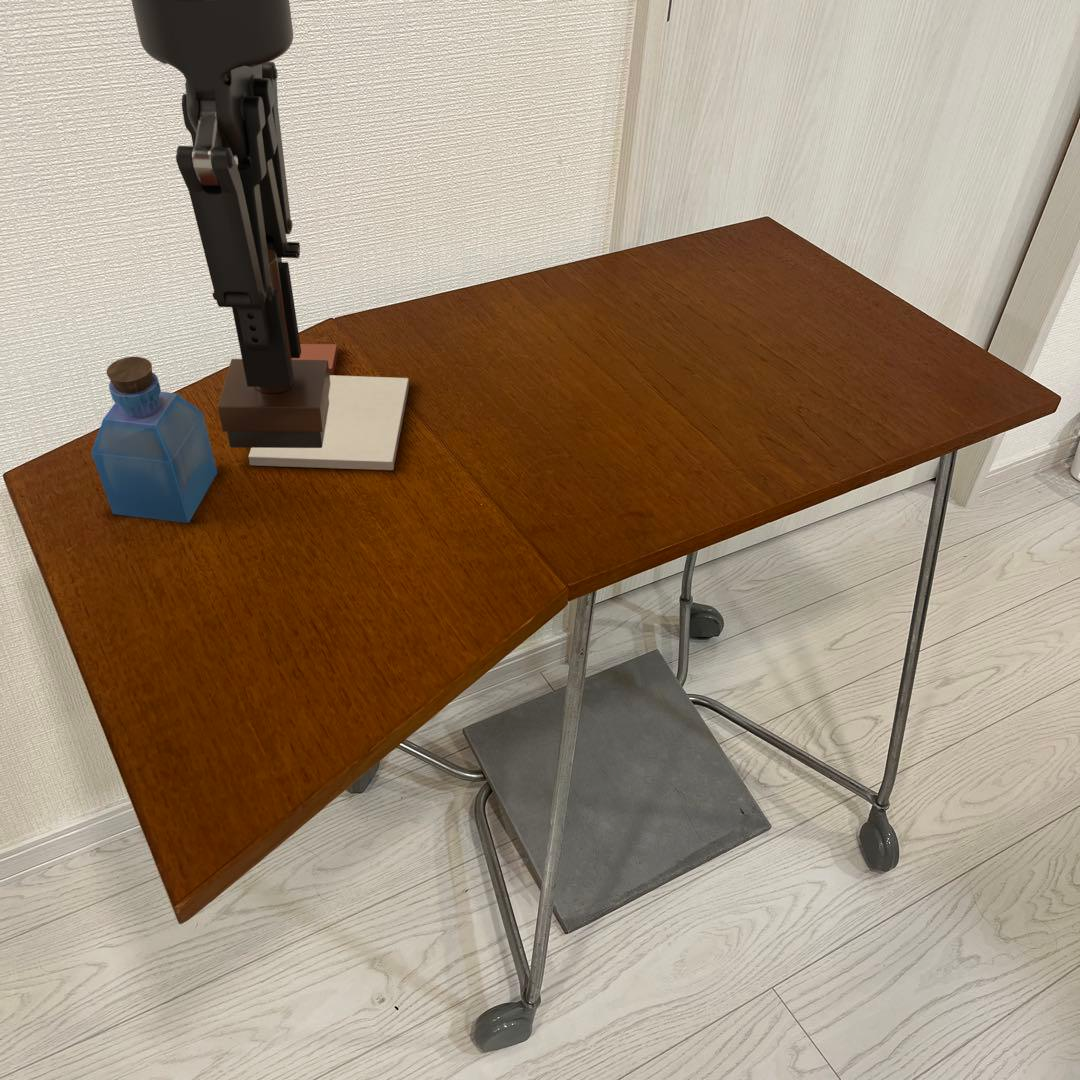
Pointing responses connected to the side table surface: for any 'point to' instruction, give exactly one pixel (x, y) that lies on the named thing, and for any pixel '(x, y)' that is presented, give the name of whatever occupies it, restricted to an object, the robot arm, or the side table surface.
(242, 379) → the stamp
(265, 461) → the tile
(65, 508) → the side table surface
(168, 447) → the perfume bottle
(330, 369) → the reddish-brown flat block
